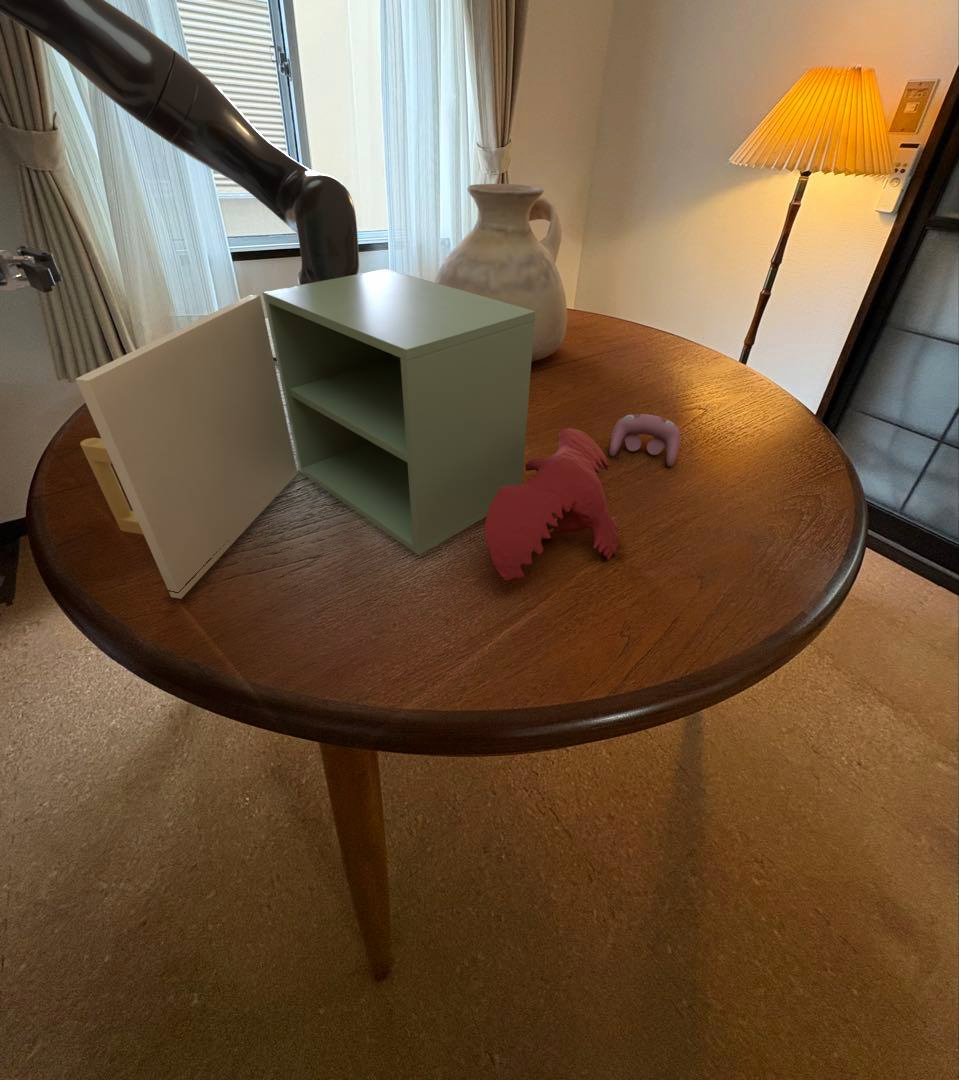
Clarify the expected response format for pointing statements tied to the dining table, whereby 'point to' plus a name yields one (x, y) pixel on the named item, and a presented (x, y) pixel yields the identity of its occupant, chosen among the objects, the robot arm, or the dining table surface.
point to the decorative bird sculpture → (551, 505)
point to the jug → (513, 259)
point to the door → (191, 438)
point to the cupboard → (404, 397)
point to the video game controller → (648, 425)
